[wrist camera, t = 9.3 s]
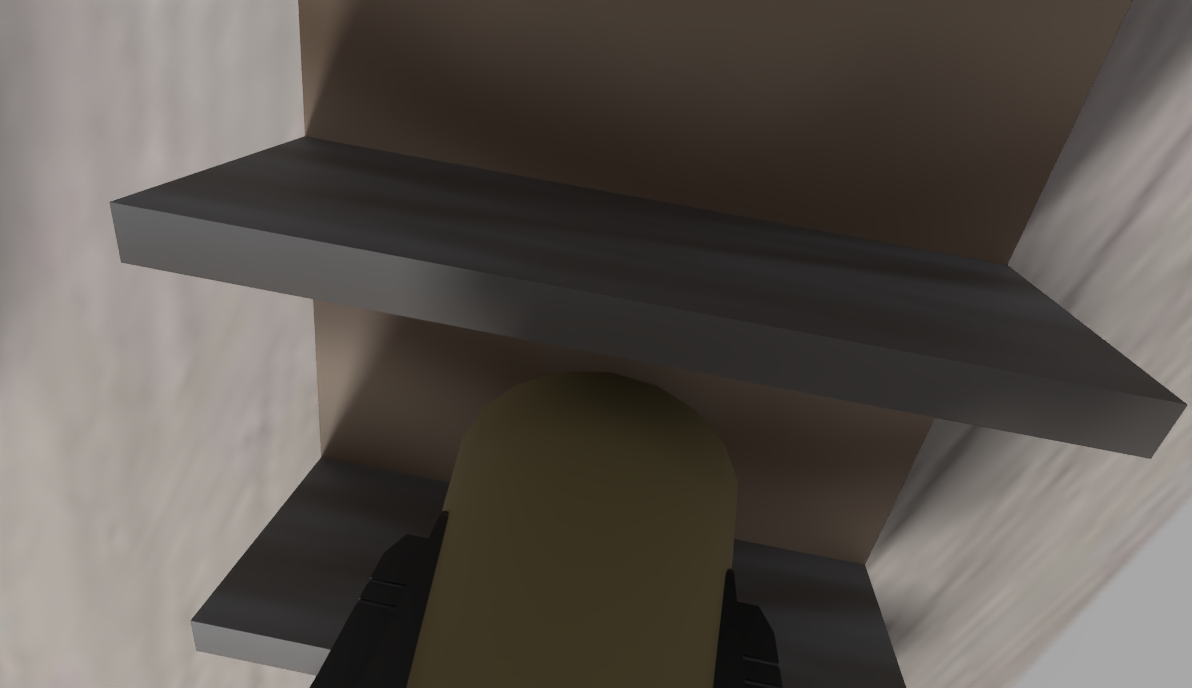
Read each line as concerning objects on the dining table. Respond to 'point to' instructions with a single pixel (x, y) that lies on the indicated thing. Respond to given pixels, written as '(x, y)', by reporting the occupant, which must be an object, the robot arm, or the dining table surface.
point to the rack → (659, 269)
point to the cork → (581, 542)
